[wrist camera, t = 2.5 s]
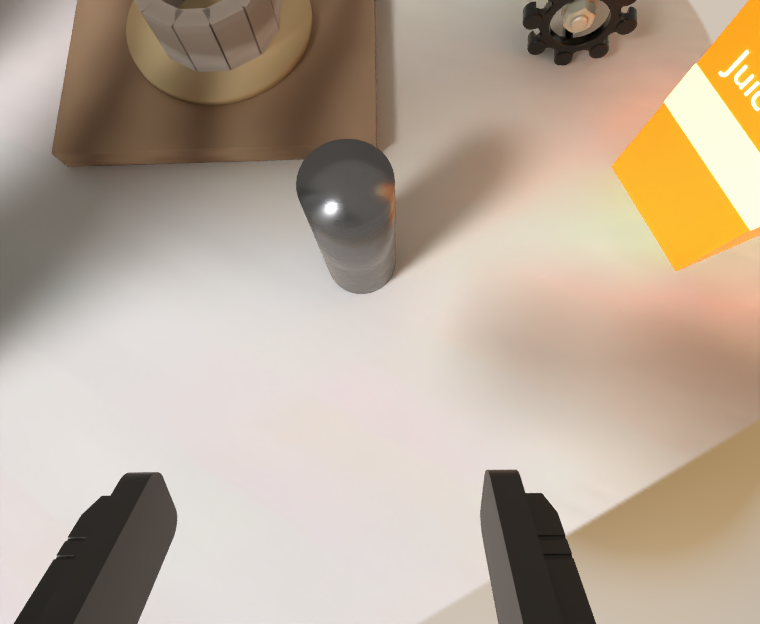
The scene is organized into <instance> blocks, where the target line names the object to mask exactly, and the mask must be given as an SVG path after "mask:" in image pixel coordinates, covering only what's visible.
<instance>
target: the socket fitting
mask: <svg viewBox="0 0 760 624" xmlns="http://www.w3.org/2000/svg"><path fill="white" fill-rule="evenodd" d="M338 139H357V140H361V141H364V142H367V143H369V144H371V145H373V146H375V147H376V148H377V123H376V53H375V0H77V6H76V12H75V18H74V24H73V30H72V36H71V41H70V47H69V53H68V59H67V65H66V71H65V77H64V83H63V89H62V95H61V101H60V107H59V113H58V119H57V124H56V130H55V136H54V142H53V148H52V154H53V155H54V156H55V157H57V158H58V159H59V160H60V161H62V162H63V163H64V164H65V165H67V166H68V167H69V166H101V165H133V164H165V163H197V162H230V161H262V160H294V159H306V157H307V156H308V155H309V154H310V153H311V152H312V151H313V150H315V149H316V148H318V147H319V146H321V145H323V144H325V143H327V142H330V141H333V140H338Z"/></svg>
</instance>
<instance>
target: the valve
mask: <svg viewBox="0 0 760 624" xmlns="http://www.w3.org/2000/svg"><path fill="white" fill-rule="evenodd" d="M601 1H602V2H604V3H605V4H606V5H607V6H608V7H609V9H610V13H609V16H608V18H607V19H606V21H605V22H604V23H603V24H602V25H601V26H600V27H599V28H598V29H596V30H595V31H593V32H592V33H590V34H587V35H585V36H582V37H576V38H573V33H578V32H581V31H584V30H586V29H588V28H590V26H591V25H592V23H593V20H594V18H595V16H596V10H597V0H548V3H547V4H546V6H545V7H544V9H539V8H536V2H530V3H528V4H527V5H526V6H525V7H524V9H523V26H524V27H525V28H526V29H529V30H532V29H536V28H539V30H540V33H539V34H538V35H536V34H535V33H534V31H532V32H531V33H530V34H529V35H528V52H529V53H530V54H532V55H538V54H540V53H542V52H543V51H544V50H545V49H546V48H553V49H554V62H555V64H556V65H567V64H569V63H570V62H571V61H572V58H573V53H574V52H576V51H580V50H588V51H589V55H590V56H591V57H592V58H601V57H603V56H605V55H606V54H607V52H608V50H609V41H608V36H609V35H610V34H611V33H613V32H617V33H618V34H621V35H625V34H629V33H631V32H632V31H633V30H634V29H635V28H636V26H637V11H636V9H635V8H634V7H629V9H628V11H627V13H622V12H621V8H622V7H623V6H628V5H631V4H633V3H634V2H635V1H636V0H601ZM560 8H562V10H561V14H562V18H563V27H564V28H563V36H559V35H557V34H556V33H554V32H553V30H552V29H551V27H550V21H551V19H552V17H553V16H554V15H555V13H556V12H557V11H558V10H559V9H560Z"/></svg>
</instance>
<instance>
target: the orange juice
mask: <svg viewBox="0 0 760 624" xmlns="http://www.w3.org/2000/svg"><path fill="white" fill-rule="evenodd" d="M612 168H613V170H614V171H615V173H616V175H617V176H618V178H619V180H620V181H621V183H622V184H623V186H624V188H625V189H626V191H627V193H628V194H629V196H630V197H631V199H632V201H633V202H634V204H635V206H636V207H637V209H638V210H639V212H640V214H641V215H642V217H643V219H644V220H645V222H646V223H647V225H648V227H649V228H650V230H651V232H652V233H653V235H654V237H655V238H656V240H657V241H658V243H659V245H660V246H661V248H662V250H663V251H664V253H665V254H666V256H667V258H668V259H669V261H670V263H671V264H672V266H673V267H674V269H675V271H678V270H680V269H683V268H685V267H687V266H690V265H692V264H694V263H696V262H699V261H701V260H703V259H706V258H708V257H710V256H713V255H715V254H717V253H720V252H722V251H724V250H726V249H729V248H731V247H733V246H736V245H738V244H740V243H743V242H745V241H747V240H749V239H752V238H754V237H756V236H759V235H760V0H749V1H748V2H747V3H746V4H745V6H744V7H743V8H742V9H741V11H740V12H739V13H738V14H737V16H736V17H735V18H734V19H733V20H732V21H731V23H730V24H729V25H728V26H727V27H726V29H725V30H724V31H723V32H722V33H721V35H720V36H719V37H718V38H717V40H716V41H715V42H714V43H713V44H712V46H711V47H710V48H709V49H708V50H707V52H706V53H705V54H704V55H703V56H702V58H701V59H700V60H699V61H698V62H697V63H695V64H694V65H693V67H692V68H691V69H690V70H689V72H688V73H687V74H686V75H685V76H684V78H683V79H682V80H681V81H680V83H679V84H678V85H677V86H676V87H675V89H674V90H673V91H672V92H671V93H670V95H669V96H668V97H667V98H666V100H665V101H664V104H663V105H662V106H661V107H660V108H659V110H658V111H657V112H656V113H655V114H654V116H653V117H652V118H651V119H650V121H649V122H648V123H647V124H646V125H645V127H644V128H643V129H642V130H641V131H640V133H639V134H638V135H637V136H636V137H635V139H634V140H633V141H632V142H631V144H630V145H629V146H628V147H627V148H626V150H625V151H624V152H623V153H622V154H621V156H620V157H619V158H618V159H617V160H616V162H615V163H614V164H613V165H612Z"/></svg>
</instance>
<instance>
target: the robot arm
mask: <svg viewBox="0 0 760 624" xmlns="http://www.w3.org/2000/svg"><path fill="white" fill-rule="evenodd" d="M480 517H481V530H482V537H483V542H484V548H485V553H486V559H487V564H488V570H489V575H490V580H491V586H492V591H493V597H494V601H495V607H496V613H497V618H498V623H499V624H596V622H595V619H594V616H593V613H592V611H591V608H590V605H589V602H588V599H587V596H586V593H585V590H584V588H583V585H582V582H581V579H580V576H579V573H578V570H577V567H576V565H575V562H574V559H573V558H572V553H571V550H570V548H569V544H568V542H567V539H566V538H565V533H564V530H563V527H562V524H561V521H560V518H559V516H558V513H557V511H556V510H555V509H554V508H553V506H552V505H551V504H550V503H549V501H548V500H547V499H546V498H545V496H544V495H543V494H542V493H525V491H524V487H523V484H522V481H521V477H520V474H519V472H518V471H517V470H486V471H485V477H484V485H483V493H482V501H481V511H480ZM176 525H177V512H176V508H175V506H174V503H173V501H172V498H171V496H170V493H169V491H168V488H167V486H166V484H165V481H164V479H163V476H162V475H161V474H160V473H158V472H142V473H126V474H125V475H124V476H123V477H122V478H121V479H120V481H119V482H118V484H117V486H116V487H115V489H114V491H113V493H112V494H111V496H101V497H100V498H99V499H98V500H97V501H96V502H95V503H94V504H93V505H92V506H91V507H90V508H88V509H87V510H86V511H85V512H84V513H83V514H82V515H81V517H80V518H79V520H78V522H77V523H76V525H75V526H74V528H73V530H72V531H71V533H70V534H69V536H68V540H67V541H65V542H64V544H63V546H62V547H61V549H60V550H59V552H58V554H57V558H56V559H54V560H53V562H52V563H51V565H50V566H49V568H48V570H47V571H46V573H45V574H44V576H43V578H42V579H41V581H40V582H39V584H38V586H37V587H36V589H35V590H34V592H33V594H32V595H31V597H30V598H29V600H28V602H27V603H26V605H25V606H24V608H23V610H22V611H21V613H20V614H19V616H18V618H17V619H16V621H15V622H14V624H137V623H138V621H139V619H140V616H141V614H142V611H143V609H144V607H145V604H146V602H147V599H148V597H149V595H150V592H151V590H152V587H153V585H154V583H155V580H156V578H157V575H158V573H159V571H160V568H161V566H162V564H163V561H164V559H165V556H166V554H167V552H168V549H169V547H170V544H171V542H172V540H173V537H174V534H175V531H176Z"/></svg>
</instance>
